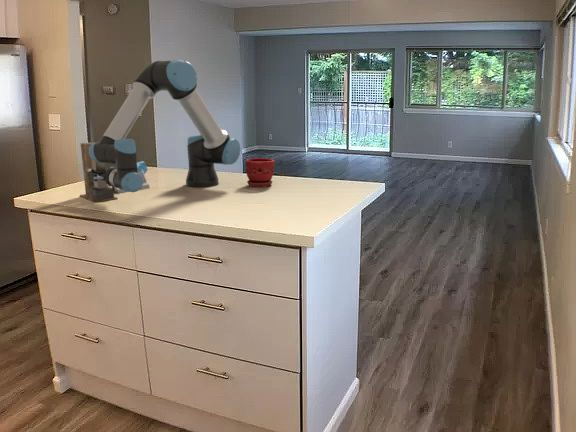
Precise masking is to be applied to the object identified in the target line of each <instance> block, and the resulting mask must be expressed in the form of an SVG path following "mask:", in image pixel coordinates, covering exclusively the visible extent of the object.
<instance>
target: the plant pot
mask: <svg viewBox="0 0 576 432" xmlns="http://www.w3.org/2000/svg"><path fill="white" fill-rule="evenodd" d="M265 169H266V170H265ZM274 169H275V160H274V159H272V158H247V159H245V172H246V177H247V179H248V180H247V181H246V182H247V185H249V186H251V187H253V188H256V187H257V188H258V187H259V188H260V187H262V188H263V187H264V186H265V187H269V186H271V185H272V183H273V180H272V179H273V175H274V171H275V170H274Z"/></svg>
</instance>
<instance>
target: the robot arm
mask: <svg viewBox="0 0 576 432" xmlns="http://www.w3.org/2000/svg"><path fill="white" fill-rule="evenodd" d="M197 76H198V73H197V70H196V69H195V67H194V66H193V64H191V62H189V61H186V60H181V59H174V60H155V61H153V62H151V63H149V64H148V65H146V66H145V68H143V69H142V70H141V71H140V73H138V75H137V76H136V78H135V80H134V81H133V82H132V85H131V86H132V89H131V91H130V92H129V94H128V95H127V97H126V98H125V100H124V102H123V103H122V105H121V106H120V108H119V109H118V111H117V113H116V114H115V116H114V118H113V119H112V120H111V122H110V124H109V126H108V127H107V129H106V131H105V132H104V133H103V135H102V136H101V138H100V140H99V141H96V142H93V144H91V146H90V147H89V156H90V157H91V159H92V160H94V161H97V162H101V163H105V164H107V163H108V164H115V167H114V168H106V172H105V171H103V172H97V171H95V170H94V169H88V178H89V179H92V180H94V181H97V180H99V179H101V180H104V181H106V183H107V186H109V187H111V188H112V187H116V188H119V189H120V190H124V191H126V193H136V192H139V191H141V190H140V189H141V187H142V185H143V179H142V177H141V176H140V175H139V174H138V169H137V163H138V161H137V159H138V157H137V148H136V141H135V140H134V139H133V138H127V136H128V134H129V133H130V131H131V130H132V128H133V126H134V124H135V123H136V121H137V120H138V118H139V116H140V115H141V114H142V111H144V109H145V107H146V106H147V104H148V102H149V101H150V100H151V99H154V97H155V96H156V94H157V93H158V92H161V91H167V92H168V94H169V96H170V97H171V98H172V100H174V101H178V102H179V103H180V105H181V106H182V109H183V110H184V111H185V113H186V114H187V115H188V117H189V119H190V120H191V122H192V123H193V125H194V127H195V128H196V129H197V131H198V132H199V135H192V136H191V135H190V136H188V137H187V144H186V145H187V159H188V171H187V173H186V174H187V175H186V179H185V185H186V186H187V187H192V188H202V187H203V188H204V187H213V186H217V185H219V184H220V183H219V177H218V174H217V172H216V168H215V164H217V165H225V166H227V165H234V164H235V163H237V161H238V160H239V157H240V154H241V144H240V142H239V140H238V139H236V138H234V137H232V138H231V137H230V135H229V134H228V132H227V131H226V130H225V129H221V127H220V126H219V124H218V122H217V120H216V119H215V117H214V116H213V114H212V113H211V111H210V109H209V108H208V105H206V103H205V101H204V99H203V98H202V96H201V94H200V93H199V92H198V90H197V87H198V83H197V82H198V77H197Z"/></svg>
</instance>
